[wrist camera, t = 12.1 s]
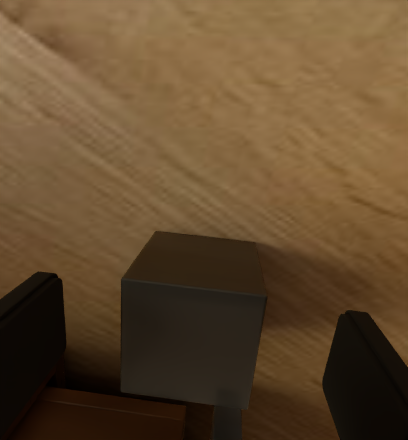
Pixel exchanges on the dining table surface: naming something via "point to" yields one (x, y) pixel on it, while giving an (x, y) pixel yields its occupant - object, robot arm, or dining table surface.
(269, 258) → the dining table surface
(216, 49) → the dining table surface
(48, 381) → the cabinet
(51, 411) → the drawer
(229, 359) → the block
